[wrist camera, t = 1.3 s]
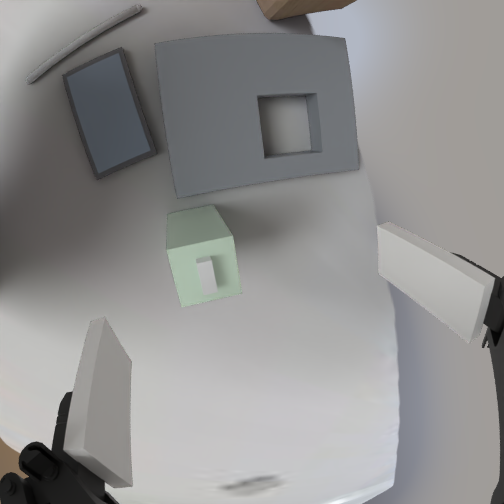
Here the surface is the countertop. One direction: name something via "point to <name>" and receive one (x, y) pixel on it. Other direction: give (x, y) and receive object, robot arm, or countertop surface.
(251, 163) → the plate
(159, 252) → the countertop surface
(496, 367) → the robot arm
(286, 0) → the block
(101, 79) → the phone
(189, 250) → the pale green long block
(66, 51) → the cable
